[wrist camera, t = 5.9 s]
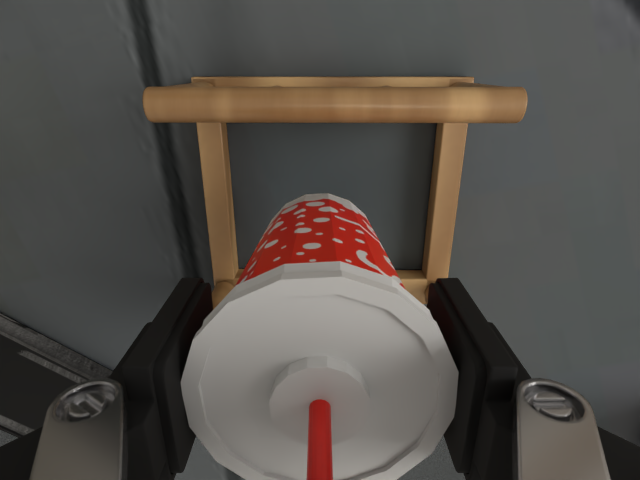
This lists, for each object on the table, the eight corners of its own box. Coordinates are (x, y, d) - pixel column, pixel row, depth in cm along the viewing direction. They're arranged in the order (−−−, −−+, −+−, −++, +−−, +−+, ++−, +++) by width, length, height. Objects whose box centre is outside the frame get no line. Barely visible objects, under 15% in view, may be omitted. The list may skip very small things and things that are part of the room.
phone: (112, 480, 29) (-107, 381, 26) (120, 466, 31) (-90, 369, 27) (164, 411, 27) (-72, 292, 24) (170, 398, 28) (-55, 283, 25)
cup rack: (220, 292, 25) (183, 371, 18) (198, 76, 20) (138, 81, 14) (439, 293, 25) (479, 374, 18) (466, 76, 20) (532, 81, 14)
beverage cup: (404, 292, 18) (611, 821, 5) (271, 321, 19) (163, 866, 6) (377, 156, 16) (611, 493, 3) (227, 194, 17) (-100, 613, 4)
